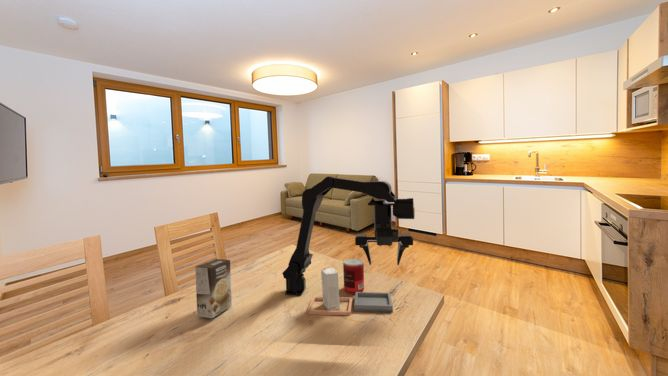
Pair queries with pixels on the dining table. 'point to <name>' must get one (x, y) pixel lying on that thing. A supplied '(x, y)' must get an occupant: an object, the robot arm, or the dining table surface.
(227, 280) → the coffee box
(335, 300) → the skincare box
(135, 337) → the dining table surface
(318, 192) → the robot arm
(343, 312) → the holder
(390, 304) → the tray
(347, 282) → the canned food
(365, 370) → the dining table surface
